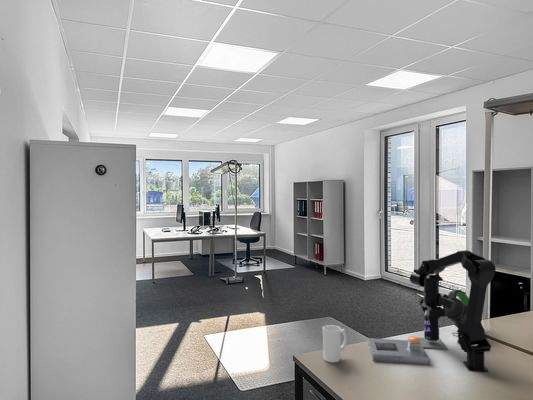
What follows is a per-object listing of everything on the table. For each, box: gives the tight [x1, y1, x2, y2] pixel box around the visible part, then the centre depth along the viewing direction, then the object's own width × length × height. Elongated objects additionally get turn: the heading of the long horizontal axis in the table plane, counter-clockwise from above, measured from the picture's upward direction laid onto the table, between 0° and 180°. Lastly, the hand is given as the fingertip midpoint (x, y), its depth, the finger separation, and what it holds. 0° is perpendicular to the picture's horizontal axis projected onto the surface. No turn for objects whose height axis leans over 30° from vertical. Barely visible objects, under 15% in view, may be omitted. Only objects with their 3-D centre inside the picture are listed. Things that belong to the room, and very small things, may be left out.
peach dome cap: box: [407, 335, 421, 344], centre depth 147 cm, size 4×4×3 cm
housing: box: [368, 337, 430, 365], centre depth 148 cm, size 16×20×5 cm
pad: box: [419, 337, 449, 351], centre depth 157 cm, size 10×10×1 cm
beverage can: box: [423, 310, 440, 342], centre depth 157 cm, size 6×6×12 cm
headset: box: [442, 289, 469, 344], centre depth 167 cm, size 18×14×29 cm
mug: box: [322, 324, 348, 364], centre depth 144 cm, size 10×7×12 cm, turn 109°
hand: (431, 326), depth 157 cm, fingers closed on beverage can, 6 cm apart
